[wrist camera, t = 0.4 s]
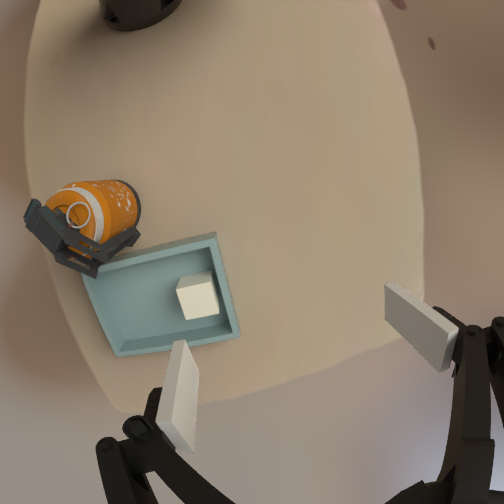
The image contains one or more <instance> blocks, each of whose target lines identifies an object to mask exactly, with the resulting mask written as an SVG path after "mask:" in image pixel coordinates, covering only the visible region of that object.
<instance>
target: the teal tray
mask: <svg viewBox="0 0 504 504" xmlns="http://www.w3.org/2000/svg"><path fill="white" fill-rule="evenodd" d="M85 268H88V269H89V266H86V267H85ZM210 270H212V274H213V277H214V281H215V285H216V288H217V292H218V296H219V314H214V315H210V316H205V317H200V318H195V319H190V320H186V319H185V316H184V313H183V310H182V307H181V304H180V301H179V298H178V295H177V292H176V287H177V285H178V282H179V280H180V277H183V276H187V275H192V274H196V273H201V272H205V271H210ZM81 276H82V279H83V282H84V284H85V287H86V290H87V292H88V295H89V297H90V300H91V303H92V305H93V307H94V310H95V312H96V315H97V317H98V319H99V322H100V324H101V326H102V328H103V330H104V333H105V335H106V337H107V339H108V341H109V343H110V345H111V347H112V349H113V351H114V353H115V355H116V357H123V356H131V355H139V354H147V353H154V352H161V351H168V350H172V347H173V343H174V341H179V340H184V339H185V340H186V342H187V345H188V347H192V346H198V345H203V344H209V343H214V342H219V341H224V340H229V339H234V338H239V337H241V335H240V327H239V321H238V318H237V314H236V310H235V306H234V302H233V298H232V294H231V291H230V287H229V283H228V279H227V275H226V271H225V267H224V263H223V259H222V254H221V250H220V246H219V242H218V238H217V234H216V232H212V233H208V234H204V235H199V236H195V237H191V238H187V239H183V240H178V241H174V242H170V243H166V244H162V245H158V246H154V247H150V248H146V249H142V250H138V251H134V252H130V253H126V254H122V255H119V256H115V257H112V258H111V259H110V260H109V261H108V262H107V263H105V264H104V265H103V264H102V265H101V266H100V267H99V269H98V274H97V279H94V278H92V277H89V276H87V275H85V274H82V273H81Z"/></svg>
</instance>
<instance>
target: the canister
mask: <svg viewBox="0 0 504 504" xmlns="http://www.w3.org/2000/svg"><path fill="white" fill-rule="evenodd" d="M140 213H141V204H140V200H139V197H138V195H137V193H136V191H135V190H134V189H133V188H132V186H130V185H129V184H128V183H126V182H124V181H120V180H102V181H84V182H73V183H70V184H68V185H66V186H65V187H63V188H62V189H61V190H58V191H57V192H55V193H54V194H53V195H52V196H51V197H50V198H49V199H48V201H47V202H46V204H45V206H43V207H41V203H40V201H38V200H37V199H31V201H30V204H29V206H28V208H27V210H26V213H25V215H24V217H23V218H25V220H24V221H25V223H26V228H27V229H28V230H29V231H30V232H32V233H33V234H34V235H35V236H36V237H37V238H38V239H39V240H40V241H41V242H42V244H43V245H44V246H45V247H46V248H47V249H48V250H49V251H50V252H51V253H52V254H53V255H54V257H55V260H56V262H58V263H60V264H62V265H65V266H67V267H69V268H71V269H73V270H76V271H78V272H80V273H82V274H85V275H87V276H89V277H92V278H94V279H97V274H98V269H99V267H100V266H101V265H102V264H103V265H104V264H105V263H107V262H108V261H109V260H110V259H111V258H112V257H113V256H114V255H115V254H117V253H118V252H119V251H121V250H122V249H123V248H125V247H126V246H129V247H132V246H133V245H134V243H135V242H136V241H137V239H138V238H139V236H140V235H141V234H140V233H139V231H138V230H137V229H136V225H137V223H138V221H139V218H140ZM90 257H93V258H92V260H90V259H88V258H90ZM70 260H78V261H80V262H82V263H84V264H86V265H88V266H89V269H88V268H85V267H83V266H81V265H79V264H76V263H74V262H72V261H70Z"/></svg>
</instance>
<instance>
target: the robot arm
mask: <svg viewBox="0 0 504 504" xmlns="http://www.w3.org/2000/svg"><path fill="white" fill-rule="evenodd" d="M181 1H182V0H99V3H100V13H101V16H102V18H103V20H104V21H105V22H106V24H107V25H108V26H110V27H111V28H113V29H116V30H121V31H131V30H138V29H142V28H145V27H148V26H151V25H153V24H155V23H157V22H159V21H161V20H163V19H164V18H166V17H167V16H169V15H170V14H171V13H172V12H173V11H174V10H175V9H176V8H177V7H178V6H179V5H180V3H181ZM384 288H385V320H386V321H387V322H388V323H389V324H390V325H391V326H392V327H393V328H394V329H395V330H396V331H397V332H398V333H400V334H401V335H402V336H403V337H404V338H405V339H406V340H407V341H408V342H409V343H410V344H411V345H412V346H413V347H414V348H415V349H416V350H417V351H418V352H419V353H420V354H421V355H422V356H423V357H424V358H425V359H426V360H427V361H428V362H429V363H430V364H431V365H432V366H433V367H434V368H435V369H436V370H437V371H438V372H439V373H441V372H443V371H445V370H446V369H448V368H450V364H451V361H452V360H453V361H454V362H455V363H456V364H455V367H454V371H453V374H452V377H454V388H453V401H452V411H451V420H450V428H449V434H448V440H447V445H446V451H445V456H444V460H443V465H442V469H441V471H440V474H439V476H438V478H437V481H435V482H429V483H425V484H424V482H423V481H422V480H421V481H420V482H418V483H416V484H414V485H412V486H411V487H409V488H407V489H405V490H403V491H401V492H400V493H398V494H397V495H396V496H394V497H393V498H392V499H390V500H389V501H388V502H386V503H385V504H504V491H495V490H489V487H490V482H491V475H492V467H493V459H494V448H495V441H494V439H491V438H490V430H491V429H490V428H491V395H490V383H491V386H492V389H493V392H494V395H495V398H496V401H497V405H498V408H499V412H500V415H501V419H502V423H503V427H504V317H496V318H494V319H493V320H492V323H491V326H490V327H486V328H484V329H482V328H481V327H479V326H477V325H468V326H466V325H465V324H463V323H462V322H460V321H459V320H458V319H456V318H455V317H454V316H452V315H451V314H449V313H448V312H446V311H445V310H444V309H442V308H439V307H436V306H434V307H432V308H431V307H430V306H429V305H427V304H426V303H424V302H423V301H421V300H420V299H419V298H417V297H416V296H414V295H413V294H412V293H410V292H409V291H407V290H406V289H404V288H403V287H401V286H400V285H398V284H397V283H396V282H394V281H393V282H390V283H387V284H384ZM198 384H199V370H198V368H197V365H196V363H195V361H194V359H193V356H192V354H191V352H190V349H189V347H188V345H187V342H186V340H185V339H184V340H179V341H174V343H173V347H172V351H171V355H170V359H169V363H168V367H167V371H166V375H165V380H164V384H163V387H160V388H154V389H153V390H152V391H151V393H150V394H149V397H148V400H147V404H146V408H145V412H144V416H140V415H136V416H132V417H130V418H128V419H127V420H126V421H125V423H124V424H123V428H122V429H123V432H124V433H125V435H126V436H127V437H128V438H129V439H126V440H122V441H119V442H118V441H116V439H114V438H113V437H104V438H103V439H101V440H100V441H99V442H98V443H97V445H96V454H97V460H98V465H99V470H100V474H101V478H102V482H103V486H104V490H105V494H106V498H107V501H108V504H158V502H157V499H156V497H155V495H154V493H153V491H152V489H151V486H150V484H149V481H148V479H147V477H146V474H145V473H148V472H152V471H155V472H156V473H157V474H158V476H160V478H161V479H162V480H163V481H164V482H165V483H166V485H167V486H168V487H169V488H170V489H171V490H172V491H173V492H174V493H175V494H176V495H177V496H178V497H179V498H180V499H181V500H182V501H183V502H184V503H185V504H235V503H234V502H233V501H231V500H230V499H229V498H227V497H226V496H225V495H223V494H222V493H221V492H220V491H218V490H217V489H216V488H215V487H214V486H212V485H211V484H210V483H209V482H207V481H206V480H205V479H204V478H203V477H202V476H201V475H199V474H198V473H197V472H196V471H195V470H194V469H193V468H192V467H191V466H190V465H188V463H186V462H185V461H184V460H183V459H182V458H181V457H180V456H179V455H178V454H177V453H176V452H175V448H176V449H177V450H178V452H179V453H194V450H195V430H196V429H195V428H196V413H197V398H198Z"/></svg>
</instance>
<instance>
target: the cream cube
mask: <svg viewBox="0 0 504 504" xmlns="http://www.w3.org/2000/svg"><path fill="white" fill-rule="evenodd" d="M176 292H177V295H178V298H179V301H180V304H181V307H182V310H183V313H184V316H185V319H186V320H190V319H195V318H200V317H205V316H210V315H214V314H219V296H218V292H217V288H216V285H215V281H214V277H213V274H212V270H210V271H205V272H201V273H196V274H192V275H187V276H183V277H180V280H179V282H178V285H177V287H176Z"/></svg>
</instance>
